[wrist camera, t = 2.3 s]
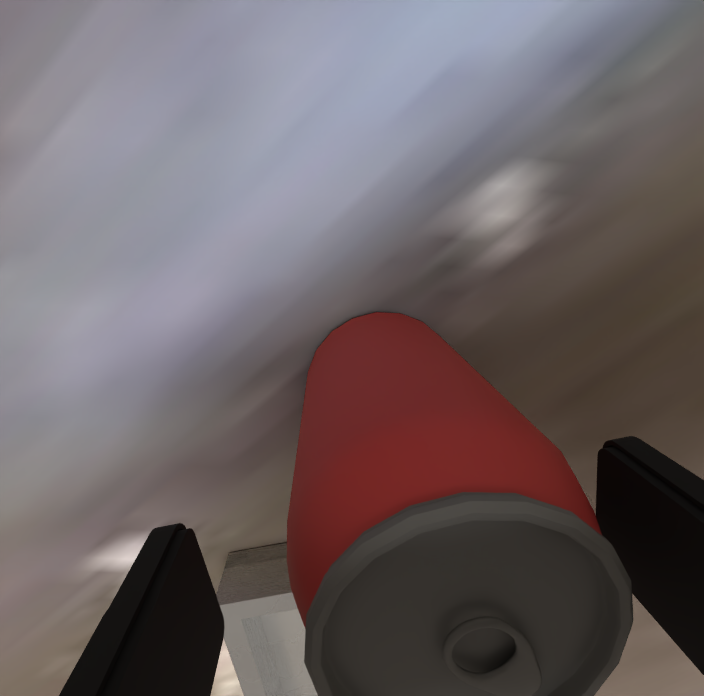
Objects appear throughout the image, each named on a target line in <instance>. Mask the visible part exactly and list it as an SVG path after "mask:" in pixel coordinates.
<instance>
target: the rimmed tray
mask: <svg viewBox="0 0 704 696" xmlns="http://www.w3.org/2000/svg"><path fill="white" fill-rule="evenodd" d="M216 596H217V599H218V602H219V605H220V608H221V611H222V614H223V617H224V625H225V629H224V640H225V643H226V646H227V648H228V651H229V654H230V657H231V660H232V663H233V665H234V668H235V671H236V674H237V677H238V680H239V682H240V685H241V688H242V691H243V694H244V696H318V695H317V692H316V690H315V687H314V685H313V683H312V680H311V678H310V675H309V673H308V670H307V668H306V666H305V663H304V655H305V627H304V624H303V622H302V619H301V616H300V614H299V611H298V608H297V605H296V602H295V599H294V596H293V593H292V590H291V587H290V580H289V573H288V566H287V543H282V544H277V545H271V546H265V547H260V548H254V549H248V550H243V551H237V552H231V553H229V555H228V558H227V561H226V565H225V568H224V571H223V575H222V578H221V581H220V584H219V588H218V591H217V594H216Z"/></svg>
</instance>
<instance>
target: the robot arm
mask: <svg viewBox="0 0 704 696" xmlns="http://www.w3.org/2000/svg"><path fill="white" fill-rule="evenodd" d="M596 518H597V521H598V524H599V527H600V530H601V533H602V536H603V537H605V538H606V539H607V540H608V541H609V542H610V543H611V544H612V546H613V547H614V549H615V551H616V553H617V555H618V557H619V559H620V561H621V562H622V564H623V566H624V568H625V570H626V572H627V574H628V576H629V578H630V579H631V585H632V593H633V595H634V596H635V597H636V598H637V599H638V600H639V602H640V603H641V604H642V605H643V606H644V607H645V608H646V610H647V611H648V612H649V613H650V614H651V615H652V616H653V618H654V619H655V620H656V621H657V622H658V623H659V625H660V626H661V627H662V628H663V629H664V630H665V631H666V633H667V634H668V635H669V636H670V637H671V638H672V639H673V641H674V642H675V643H676V644H677V645H678V646H679V647H680V649H681V650H682V651H683V652H684V653H685V654H686V656H687V657H688V658H689V659H690V660H691V661H692V662H693V664H694V665H695V666H696V667H697V668H698V669H699V670H700V672H701V673H702V674H703V675H704V480H702V479H701V478H699V477H698V476H696V475H695V474H693V473H691V472H690V471H688V470H687V469H685V468H684V467H682V466H681V465H679V464H678V463H676V462H674V461H673V460H671V459H670V458H668V457H667V456H665V455H664V454H662V453H660V452H659V451H657V450H656V449H654V448H653V447H651V446H650V445H648V444H647V443H645V442H643V441H642V440H640V439H639V438H637V437H633V436H629V437H624V438H619V439H614V440H609V441H606V442H605V443H604V445H603V448H602V449H600V450H599V452H598V463H597V495H596ZM224 629H225V625H224V617H223V614H222V611H221V608H220V605H219V602H218V599H217V596H216V594H215V591H214V588H213V585H212V582H211V579H210V576H209V573H208V570H207V568H206V565H205V562H204V559H203V556H202V553H201V550H200V547H199V545H198V542H197V539H196V536H195V533H194V531H193V530H192V529H190V528H189V529H186V527H185V526H184V525H183V524H181V523H179V524H174V525H168V526H163V527H158V528H155V529H153V530H152V531H151V533H150V534H149V536H148V538H147V540H146V542H145V543H144V545H143V547H142V549H141V551H140V553H139V554H138V556H137V558H136V560H135V562H134V563H133V565H132V567H131V569H130V571H129V572H128V574H127V576H126V578H125V580H124V582H123V583H122V585H121V587H120V589H119V591H118V592H117V594H116V596H115V598H114V600H113V602H112V603H111V605H110V607H109V609H108V610H107V611H106V613H105V614H104V616H103V617H102V619H101V621H100V623H99V625H98V626H97V628H96V630H95V632H94V634H93V635H92V637H91V639H90V641H89V643H88V644H87V646H86V648H85V650H84V652H83V653H82V655H81V657H80V659H79V661H78V662H77V664H76V666H75V668H74V670H73V671H72V673H71V675H70V677H69V679H68V680H67V682H66V684H65V686H64V688H63V689H62V691H61V693H60V695H59V696H210V694H211V690H212V685H213V681H214V677H215V672H216V668H217V664H218V659H219V655H220V651H221V646H222V642H223V637H224Z"/></svg>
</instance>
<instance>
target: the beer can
mask: <svg viewBox="0 0 704 696" xmlns="http://www.w3.org/2000/svg"><path fill="white" fill-rule="evenodd" d="M287 566H288V573H289V580H290V587H291V590H292V593H293V596H294V599H295V602H296V605H297V608H298V611H299V614H300V616H301V619H302V622H303V624H304V627H305V655H304V663H305V666H306V668H307V670H308V673H309V675H310V678H311V680H312V683H313V685H314V687H315V690H316V692H317V695H318V696H594V695H595V693H596V692H597V691H598V690H599V688H600V687H601V686H602V684H603V683H604V682H605V680H606V679H607V678H608V677H609V675H610V674H611V673H612V671H613V670H614V669H615V667H616V666H617V665H618V664H619V661H620V658H621V655H622V652H623V650H624V647H625V644H626V641H627V638H628V635H629V633H630V630H631V627H632V623H633V605H632V585H631V579H630V578H629V576H628V574H627V572H626V570H625V568H624V566H623V564H622V562H621V561H620V559H619V557H618V555H617V553H616V551H615V549H614V547H613V546H612V544H611V543H610V542H609V541H608V540H607V539H606V538H605V537H603V536H602V533H601V530H600V527H599V524H598V521H597V518H596V516H595V513H594V510H593V509H592V507H591V505H590V503H589V501H588V499H587V497H586V495H585V493H584V492H583V490H582V488H581V486H580V484H579V482H578V480H577V478H576V477H575V475H574V473H573V471H572V470H571V468H570V466H569V465H568V463H567V461H566V459H565V458H564V456H563V454H562V453H561V451H560V450H559V449H558V448H557V447H556V446H555V445H554V444H553V443H552V442H551V441H550V440H549V439H547V438H546V437H545V436H544V435H543V434H542V433H541V432H540V431H539V430H538V429H537V428H536V427H535V426H534V425H533V424H532V423H531V422H530V421H529V420H527V419H526V418H525V417H524V416H523V415H522V414H521V413H520V412H519V411H518V410H517V409H516V408H515V407H514V406H513V405H512V404H511V403H510V402H508V401H507V400H506V399H505V398H504V397H503V396H502V395H501V394H500V393H499V392H498V391H497V390H496V389H495V388H494V387H493V386H492V385H491V384H490V383H488V382H487V381H486V380H485V379H484V378H483V377H482V376H481V375H480V374H479V373H478V372H477V371H476V370H475V369H474V368H473V367H472V366H471V365H470V364H468V363H467V362H466V361H465V360H464V359H463V358H462V357H461V356H460V355H459V354H458V353H457V352H456V351H455V350H454V349H453V348H452V347H451V346H450V345H448V344H447V343H446V342H445V341H444V340H443V339H442V338H441V337H440V336H439V335H438V334H436V333H435V332H434V331H433V330H432V329H430V328H429V327H428V326H427V325H426V324H425V323H423V322H421V321H419V320H416V319H414V318H411V317H409V316H406V315H403V314H401V313H382V312H375V313H371V314H368V315H364V316H360V317H356V318H352V319H351V320H349V321H348V322H346V323H344V324H343V325H341V326H340V327H338V328H337V329H335V330H333V331H332V332H331V333H330V334H329V335H328V337H327V338H326V339H325V340H324V341H323V343H322V344H321V345H320V346H319V347H318V349H317V350H316V352H315V355H314V357H313V360H312V363H311V365H310V368H309V370H308V376H307V383H306V390H305V397H304V405H303V412H302V419H301V426H300V433H299V441H298V448H297V455H296V462H295V470H294V477H293V484H292V491H291V498H290V506H289V513H288V520H287Z"/></svg>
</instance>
